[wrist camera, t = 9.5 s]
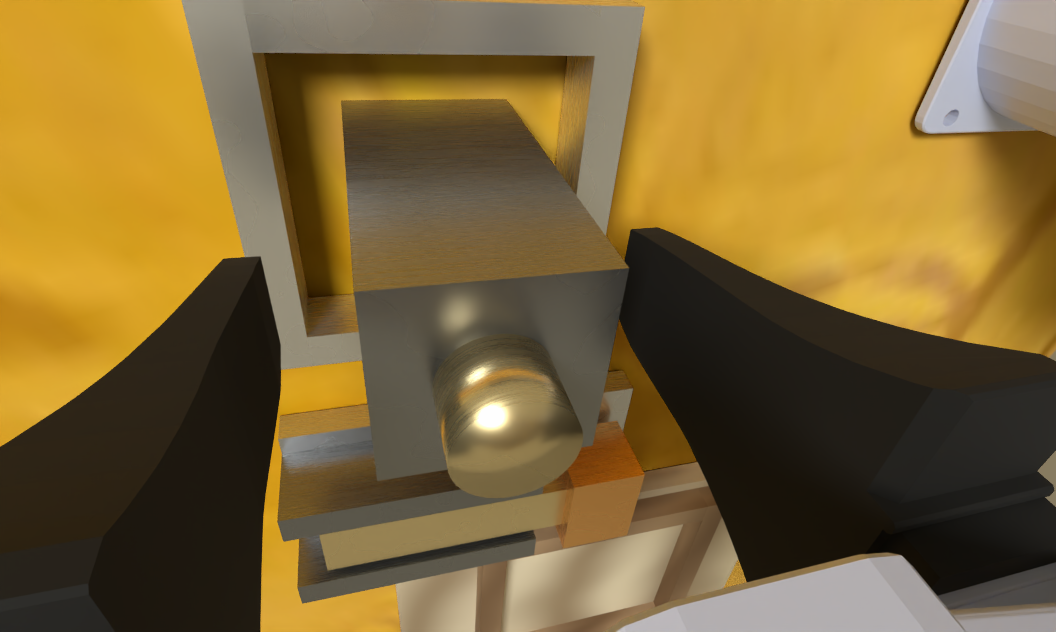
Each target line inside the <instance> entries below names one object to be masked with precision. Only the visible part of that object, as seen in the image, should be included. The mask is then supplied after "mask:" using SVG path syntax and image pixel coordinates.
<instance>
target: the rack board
mask: <svg viewBox="0 0 1056 632" xmlns="http://www.w3.org/2000/svg"><path fill="white" fill-rule="evenodd" d="M644 474H645V476H644V480H643V483H642V486H641V490H640V493H639V497H638V500H637V503H636V507H635V510H634V513H633V517H632V520H631V523H630V527H629V530H628V533H627V535H625V536H621V537H616V538H611V539H606V540H602V541H597V542H592V543H587V544H583V545H578V546H573V547H568V548H563V547H562V544H561V541H560V538H559V535H558V532H557V529H556V527H555V526H550V527H545V528H540V529H535V530H533V531H534V534H535V537H536V544H535V551H534V555H532V556H527V557H522V558H517V559H512V560H508V561H503V562H498V563H493V564H489V565H484V566H479V567H474V568H470V569H465V570H460V571H455V572H450V573H446V574H441V575H436V576H431V577H427V578H422V579H417V580H412V581H408V582H403V583H398V584H396V591H397V600H398V609H399V618H400V626H401V632H605V631H606V630H608V629H609V628H611V627H612V626H614V625H615V624H617V623H618V622H620V621H621V620H623V619H625V618H628V617H630V616H633V615H636V614H638V613H641V612H644V611H646V610H649V609H651V608H654V607H657V606H659V605H662V604H665V603H667V602H671V601H675V600H679V599H683V598H687V597H691V596H695V595H699V594H703V593H707V592H711V591H715V590H719V589H723V587H724V585H725V584H726V582H727V580H728V578H729V576H730V574H731V572H732V570H733V568H734V566H735V564H736V562H737V560H738V557H737V554H736V552H735V549H734V546H733V544H732V541H731V539H730V536H729V533H728V531H727V528H726V526H725V523H724V521H723V518H722V516H721V514H720V511H719V509H718V507H717V504H716V502H715V500H714V497H713V495H712V493H711V490H710V488H709V486H708V483H707V481H706V479H705V477H704V475H703V473H702V470H701V468H700V466H699V464H698V462H695V463H689V464H684V465H679V466H673V467H668V468H662V469H657V470H651V471H646V472H644Z"/></svg>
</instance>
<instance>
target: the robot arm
mask: <svg viewBox="0 0 1056 632" xmlns="http://www.w3.org/2000/svg"><path fill="white" fill-rule="evenodd" d="M945 116H946V117H945ZM915 126H916V128H917V129H918V130H920V131H923V132H925V133H928V134H936V133H969V132H1003V131H1036V130H1040V131H1042V132H1045V133H1047V134H1050V135H1052V136H1055V137H1056V0H969V2H968V4H967V6H966V9H965V11H964V13H963V15H962V17H961V19H960V22H959V24H958V26H957V28H956V30H955V32H954V35H953V37H952V39H951V41H950V43H949V45H948V48H947V50H946V52H945V54H944V56H943V58H942V60H941V63H940V65H939V67H938V69H937V71H936V73H935V76H934V78H933V80H932V82H931V84H930V86H929V89H928V91H927V93H926V95H925V97H924V99H923V102H922V104H921V106H920V108H919V110H918V112H917V115H916V118H915ZM625 263H626V264H627V266H628V267H629V272H628V277H627V281H626V286H625V291H624V296H623V301H622V306H621V310H620V315H619V320H620V322H621V325H622V327H623V330H624V332H625V334H626V337H627V339H628V341H629V343H630V346H631V348H632V349H633V351H634V353H635V354H636V356H637V358H638V360H639V361H640V363H641V365H642V366H643V368H644V369H645V371H646V373H647V374H648V376H649V378H650V379H651V381H652V383H653V384H654V386H655V387H656V389H657V391H658V392H659V394H660V396H661V397H662V399H663V400H664V402H665V404H666V405H667V407H668V408H669V410H670V412H671V413H672V415H673V417H674V418H675V420H676V421H677V423H678V425H679V426H680V428H681V430H682V432H683V434H684V435H685V437H686V439H687V441H688V443H689V445H690V447H691V449H692V451H693V453H694V455H695V458H696V460H697V462H698V464H699V466H700V468H701V470H702V473H703V475H704V477H705V479H706V481H707V483H708V486H709V488H710V490H711V493H712V495H713V497H714V500H715V502H716V504H717V507H718V509H719V511H720V514H721V516H722V518H723V521H724V523H725V526H726V528H727V531H728V533H729V536H730V539H731V541H732V544H733V546H734V549H735V552H736V554H737V557H738V559H739V562H740V564H741V567H742V570H743V572H744V575H745V578H746V581H747V583H743V584H739V585H735V586H731V587H727V588H723V589H719V590H715V591H711V592H707V593H703V594H699V595H695V596H691V597H687V598H683V599H679V600H675V601H671V602H667V603H665V604H662V605H659V606H657V607H654V608H651V609H649V610H646V611H644V612H641V613H638V614H636V615H633V616H630V617H628V618H625V619H623V620H621V621H620V622H618V623H617V624H615V625H614V626H612V627H611V628H609V629H608V630H606V631H605V632H1056V507H1055V506H1054V505H1053V504H1052V503H1050V502H1049V501H1048V500H1047V499H1046V498H1045V497H1047V496H1050V495H1051V494H1052V493H1053V492H1054V487H1053V485H1052V484H1051V483H1050V482H1049V481H1048V480H1047V479H1045V478H1044V477H1043V476H1042V475H1041V474H1040V473H1039V472H1037V471H1038V469H1039V468H1040V467H1041V466H1042V465H1043V464H1044V463H1045V462H1046V461H1047V459H1048V458H1049V457H1050V456H1051V455H1052V454H1053V453H1054V452H1055V451H1056V361H1054V360H1052V359H1050V358H1048V357H1046V356H1044V355H1041V354H1036V353H1029V352H1023V351H1017V350H1011V349H1004V348H998V347H992V346H986V345H980V344H973V343H968V342H963V341H958V340H953V339H949V338H944V337H940V336H935V335H930V334H926V333H922V332H918V331H913V330H909V329H905V328H901V327H898V326H894V325H890V324H887V323H884V322H880V321H877V320H873V319H870V318H866V317H863V316H859V315H856V314H853V313H850V312H847V311H844V310H841V309H838V308H835V307H833V306H830V305H827V304H825V303H822V302H819V301H816V300H814V299H811V298H808V297H806V296H803V295H801V294H798V293H796V292H793V291H791V290H789V289H786V288H784V287H782V286H780V285H777V284H775V283H773V282H771V281H769V280H766V279H764V278H762V277H760V276H758V275H756V274H753V273H751V272H749V271H747V270H745V269H743V268H741V267H739V266H737V265H735V264H733V263H731V262H729V261H727V260H725V259H723V258H721V257H719V256H717V255H715V254H713V253H711V252H709V251H708V250H706V249H704V248H702V247H700V246H698V245H696V244H694V243H692V242H690V241H688V240H686V239H684V238H682V237H679V236H677V235H675V234H673V233H671V232H668V231H666V230H663V229H660V228H643V229H631V231H630V236H629V241H628V246H627V251H626V256H625ZM280 391H281V344H280V339H279V335H278V330H277V326H276V322H275V317H274V313H273V309H272V304H271V300H270V295H269V291H268V287H267V282H266V278H265V274H264V269H263V265H262V260H261V256H255V257H241V258H228V259H223V260H222V261H221V262H220V263H219V264H218V265H217V266H216V267H215V268H214V269H213V270H212V271H211V273H210V274H209V275H208V276H207V277H206V278H205V279H204V280H203V281H202V282H201V284H200V285H199V286H198V287H197V288H196V289H195V290H194V291H193V292H192V293H191V295H190V296H189V297H188V298H187V299H186V300H185V301H184V302H183V303H182V304H181V305H180V306H179V307H178V308H177V309H176V310H175V312H174V313H173V314H172V315H171V316H170V317H169V318H168V319H167V320H166V321H165V322H164V323H163V324H162V325H161V326H160V327H159V328H158V329H157V330H155V331H154V332H153V333H152V334H151V335H150V336H149V337H148V338H147V339H146V340H145V341H144V342H143V343H141V344H140V345H139V346H138V347H137V348H136V349H135V350H134V351H133V352H132V353H131V354H130V355H129V356H127V357H126V358H125V359H124V360H123V361H122V362H120V363H119V364H118V365H117V366H116V367H114V368H113V369H112V370H111V371H109V372H108V373H107V374H106V375H105V376H103V377H102V378H101V379H99V380H98V381H97V382H95V383H94V384H93V385H91V386H90V387H89V388H87V389H86V390H85V391H83V392H82V393H81V394H80V395H78V396H77V397H76V398H74V399H73V400H71V401H70V402H68V403H67V404H66V405H64V406H63V407H61V408H60V409H58V410H57V411H55V412H54V413H52V414H50V415H49V416H47V417H46V418H44V419H43V420H41V421H40V422H38V423H37V424H35V425H34V426H32V427H31V428H29V429H27V430H26V431H24V432H23V433H21V434H20V435H18V436H17V437H15V438H14V439H12V440H11V441H9V442H7V443H6V444H4V445H2V446H1V447H0V632H260V614H261V565H262V535H263V513H264V503H265V493H266V487H267V480H268V473H269V467H270V460H271V453H272V447H273V440H274V433H275V427H276V420H277V413H278V406H279V399H280Z"/></svg>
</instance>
